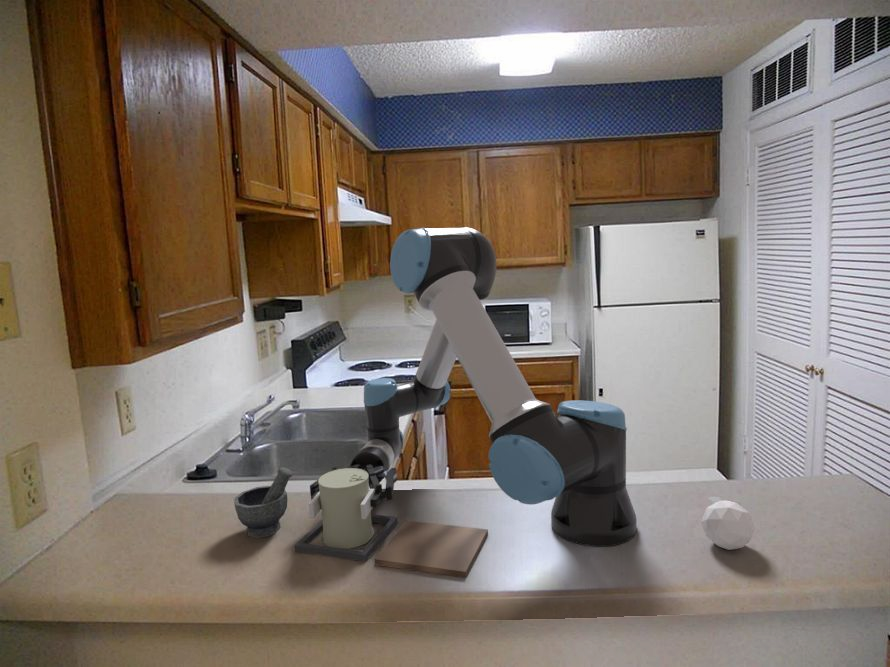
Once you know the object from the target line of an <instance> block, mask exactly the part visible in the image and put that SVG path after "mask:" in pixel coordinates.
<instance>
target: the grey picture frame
mask: <svg viewBox="0 0 890 667" xmlns="http://www.w3.org/2000/svg"><path fill="white" fill-rule="evenodd" d="M371 521H372V524H373V523H374V524H382V525H384V526H383V527H382V528H381V530H380V531H378V533H377V534H376V535H375V536H374V537H372V540H370V542H369V543H368V544H367V545H366V546H365V548H364V549H363V550H356V549H351V548H350V549H343V548H336V547H328V546H327V545H320V544H319V545H318V544H314V543H311V542H313V540H315V538H317V537H318V535H320V534H321V533H323V522H322V520H320V521H319V522H318V523H317V524H316V525H315V526H314V527H312V528H311V529H310V530H309V531H308V532H306V534H305V535H304V536H302V537H301V538H300V539H299V540H298V541H297V542H296V543H295V544H293V548H294V549H293V550H294V552H297V553H301V554H302V553H304V554H310V555H317V556H325V557H330V558H331V557H332V558H338V559H346V560H352V561H353V560H354V561H358V562H359V561H360V562H366V561H367V560H368V559H369V558H370V557H371V556H372V555H373V553H374V552H375V551H376V550H377V548H378V547H379V546H380V545H381V544H382V543H383V542H384V540H385V539H386V538H387V537H388V536H389V534H391V532H392V531H393V530H394V528H396V526H397V525H398V523H399V518H398V516H392V515H382V514H373V513H371Z"/></svg>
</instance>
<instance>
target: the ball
mask: <svg viewBox="0 0 890 667" xmlns="http://www.w3.org/2000/svg"><path fill="white" fill-rule="evenodd" d="M701 525H702V528H703V531H704V533H705V537H707V539H709V540H710V541H711V542H712V543H714V544H715V545H716V546H717V547H719V548H722V549H725V550H727V551H728V550H729V551H730V550H737V549H741V548H743V547H745V546H746V545H747V544H749V543H750V542H751V540H752V539H753V536H754V532H755V529H756V526H755V524H754V521H753V519H752V516H751V514H750V511H748V510H747V509H745V508H744V507H742V506H741V505H739V504H738V503H737V502H734V501H729V500H724V501H718V502H716V503H712V504H710V505H709V506H708V507H706V508H705V511H704V513H703V517H702V519H701Z"/></svg>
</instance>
